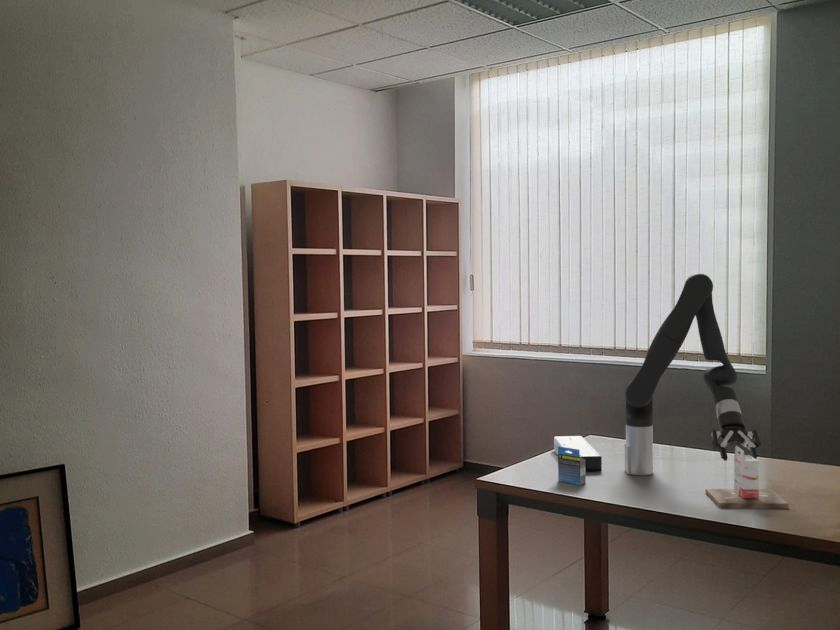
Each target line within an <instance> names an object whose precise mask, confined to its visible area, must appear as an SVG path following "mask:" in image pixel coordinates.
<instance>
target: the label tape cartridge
mask: <svg viewBox="0 0 840 630" xmlns="http://www.w3.org/2000/svg"><path fill="white" fill-rule="evenodd" d="M568 450H569V451H570V452H572V453H566V452H565V451H568ZM557 463H558V464H557V468H558V469H557V471H558V472H557V475H558V479H557V480H558V482H559V481H561V482H560V483H565V482H566V483H565V484H570V483H571V484H572V485H577V486H583V485H585V484H586V480H587V479H586V472H585V459H583V458H581V457H580V453H579V450H578V449H572V448H565V447H559V446H558V455H557ZM582 484H583V485H582Z"/></svg>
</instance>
